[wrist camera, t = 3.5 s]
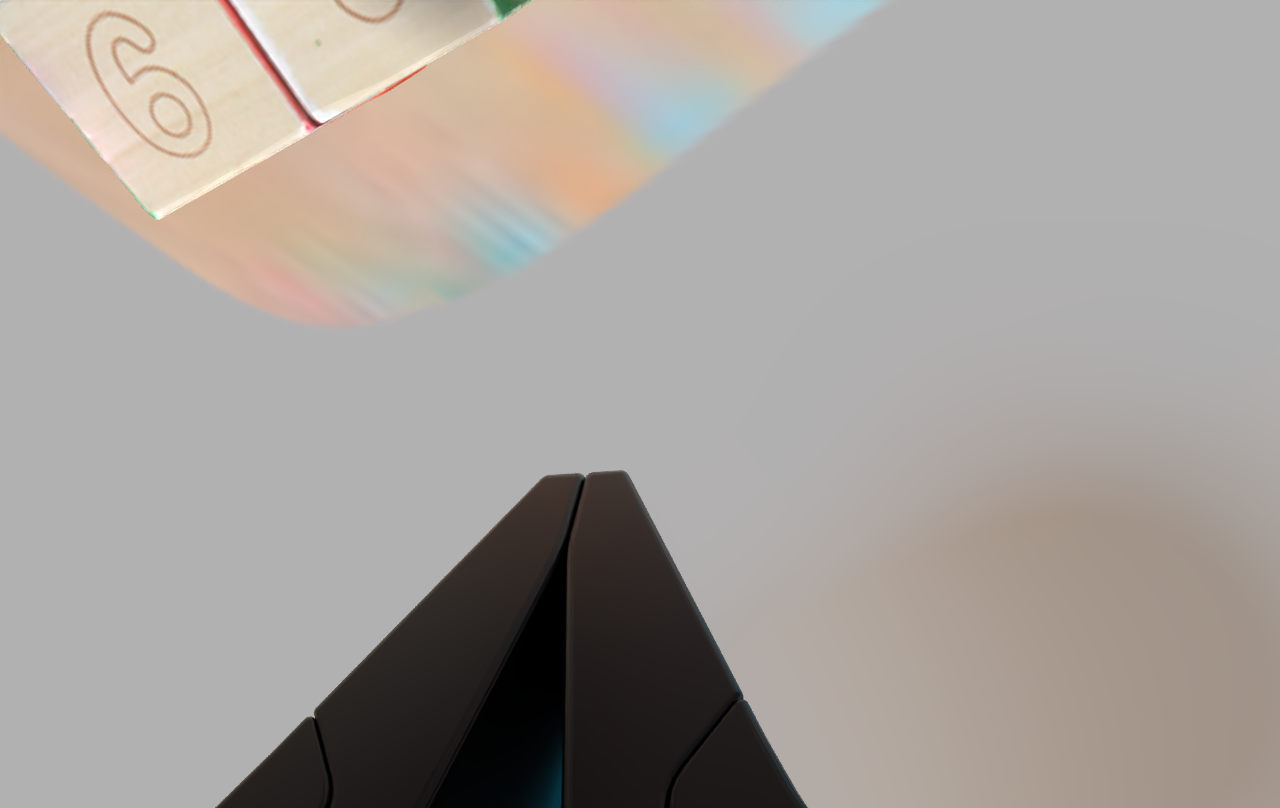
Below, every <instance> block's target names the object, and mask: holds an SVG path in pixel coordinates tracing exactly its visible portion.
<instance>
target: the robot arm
mask: <svg viewBox="0 0 1280 808" xmlns="http://www.w3.org/2000/svg"><path fill="white" fill-rule="evenodd" d="M314 716H315V718H313V717H307V718H305V720H303V721H302V722H301V723H300V725H299V726H298V727H297V728H296V729H295V730H294V731H293V732H292V733H291V734H290V735H289V736H288V737H287V738H286V739H285V740H284V741H283V742H282V743H281V744H280V745H279V746H278V747H277V748H276V749H275V750H274V751H273V752H272V753H271V754H270V755H269V756H268V757H267V758H266V759H265V760H264V761H263V762H262V763H261V764H260V765H259V766H258V767H257V768H256V769H255V770H253V772H251V773H250V774H249V775H248V776H247V777H246V778H245V779H244V780H243V781H242V782H241V783H240V784H239V785H238V786H237V787H236V788H235V789H234V790H233V791H232V792H231V793H230V794H229V795H228V796H227V797H226V798H225V799H224V800H223V801H222V802H221V803H220V804H219V805H218V806H217V807H215V808H808V807H807V806H806V804H805V803H804V801H803V800H802V799H801V797H800V795H799V794H798V792H797V791H796V789H795V787H794V785H793V784H792V782H791V780H790V778H789V777H788V775H787V773H786V771H785V770H784V768H783V767H782V764H781V763H780V761H779V759H778V757H777V756H776V754H775V752H774V750H773V749H772V747H771V745H770V743H769V742H768V740H767V738H766V736H765V734H764V732H763V731H762V729H761V727H760V725H759V723H758V721H757V719H756V717H755V715H754V713H753V712H752V710H751V708H750V706H749V704H748V702H747V701H745V700H744V699H743V694H742V691H741V689H740V688H739V686H738V684H737V682H736V680H735V678H734V676H733V674H732V672H731V670H730V669H729V666H728V665H727V663H726V661H725V659H724V657H723V655H722V653H721V651H720V649H719V647H718V645H717V644H716V642H715V640H714V638H713V636H712V634H711V632H710V630H709V628H708V626H707V624H706V622H705V620H704V618H703V617H702V615H701V613H700V611H699V609H698V607H697V605H696V603H695V602H694V599H693V597H692V596H691V594H690V592H689V590H688V588H687V586H686V584H685V582H684V580H683V578H682V576H681V574H680V572H679V571H678V569H677V567H676V565H675V563H674V561H673V559H672V557H671V555H670V553H669V551H668V549H667V548H666V546H665V544H664V542H663V540H662V538H661V536H660V534H659V532H658V530H657V528H656V526H655V525H654V523H653V521H652V519H651V517H650V515H649V513H648V511H647V509H646V507H645V505H644V503H643V501H642V500H641V498H640V496H639V494H638V492H637V490H636V488H635V486H634V484H633V482H632V480H631V479H630V477H629V475H628V474H627V473H626V472H625V471H622V470H621V471H620V470H619V471H605V472H593V473H589V474H588V475H587V476H586V478H585V477H584V476H583V475H582V474H580V473H575V474H558V475H547V476H545V477H543V478H542V479H541V480H540V481H539V482H538V483H537V484H536V485H535V486H534V487H533V488H532V489H531V490H530V491H529V492H528V493H527V494H526V495H525V496H524V497H523V498H522V499H521V500H520V501H519V502H518V503H517V504H516V505H515V506H514V507H513V508H512V509H511V510H510V511H509V512H508V513H507V514H506V515H505V516H504V517H503V518H502V519H501V520H500V521H499V522H498V523H497V524H496V526H494V527H493V528H492V529H491V530H490V531H489V533H488V534H487V535H486V536H485V537H484V538H483V539H482V540H481V541H480V542H479V543H478V544H477V545H476V546H475V547H474V548H473V549H472V550H471V551H470V552H469V553H468V554H467V555H466V556H465V557H464V558H463V559H462V560H461V561H460V562H459V563H458V564H457V565H456V566H455V567H454V568H453V569H452V570H451V571H450V572H449V573H448V574H447V575H446V576H445V577H444V578H443V579H442V580H441V581H440V582H439V583H438V584H437V586H435V587H434V589H433V590H432V591H431V592H430V593H429V594H428V595H427V596H426V597H425V598H424V599H423V600H422V601H421V602H420V603H419V604H418V605H417V606H416V607H415V608H414V609H413V610H412V611H411V612H410V613H409V614H408V615H407V616H406V617H405V618H404V619H403V620H402V621H401V622H400V623H399V624H398V625H397V626H396V627H395V628H394V629H393V630H392V631H391V632H390V633H389V634H388V635H387V636H386V637H385V638H384V639H383V640H382V641H381V642H380V643H379V645H378V646H377V647H376V648H375V649H374V650H373V651H372V652H371V653H370V654H369V655H368V656H367V657H366V658H365V659H364V660H363V661H362V662H361V663H360V664H359V665H358V666H357V667H356V668H355V669H354V670H353V671H352V672H351V673H350V674H349V675H348V676H347V677H346V678H345V679H344V680H343V681H342V682H341V683H340V684H339V685H338V686H337V687H336V688H335V689H334V690H333V691H332V692H331V694H329V695H328V697H326V698H325V700H324V701H323V702H322V703H321V704H320V705H319V706H318V707H317V708H316V709H315V711H314Z"/></svg>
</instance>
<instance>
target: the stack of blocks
mask: <svg viewBox="0 0 1280 808" xmlns="http://www.w3.org/2000/svg"><path fill="white" fill-rule="evenodd" d="M532 1H533V0H0V35H1V36H2V38H3V39H4V40H5V41H6V43H7V44H8V45H9V46H10V48H11V49H12V50H13V51H14V52H15V54H16V55H17V56H18V57H19V59H20V60H21V61H22V62H23V63H24V65H25V66H26V67H27V68H28V70H29V71H30V72H31V73H32V74H33V76H34V77H35V78H36V79H37V81H38V82H39V83H40V84H41V86H42V87H43V88H44V89H45V90H46V91H47V93H48V94H49V95H50V96H51V97H52V98H53V99H54V101H55V102H56V103H57V104H58V105H59V106H60V107H61V108H62V110H63V111H64V112H65V113H66V115H67V116H68V117H69V118H70V120H71V121H72V122H73V123H74V125H75V126H76V127H77V129H78V130H79V131H80V133H81V134H82V135H83V137H84V138H85V139H86V141H87V142H88V143H89V145H90V146H91V147H92V148H93V149H94V150H95V151H96V152H97V153H98V154H99V155H100V157H101V158H102V159H103V160H104V161H105V162H106V163H107V164H108V165H109V166H110V168H111V169H112V171H113V172H114V173H115V174H116V176H117V177H118V178H119V179H120V181H121V182H122V183H123V184H124V185H125V187H126V188H127V189H128V190H129V192H130V193H131V194H132V195H133V196H134V198H135V199H136V200H137V202H138V203H139V204H140V205H141V207H142V208H143V209H144V210H145V211H146V212H147V213H149V214H150V215H151V216H152V217H153V218H155V219H156V220H159V219H161V218H163V217H165V216H167V215H169V214H170V213H172V212H174V211H175V210H177V209H179V208H181V207H182V206H184V205H186V204H188V203H189V202H191V201H193V200H195V199H196V198H198V197H200V196H201V195H203V194H205V193H207V192H208V191H210V190H212V189H214V188H216V187H217V186H219V185H221V184H223V183H224V182H226V181H228V180H230V179H231V178H233V177H235V176H237V175H238V174H240V173H242V172H244V171H246V170H247V169H249V168H251V167H253V166H254V165H256V164H258V163H260V162H261V161H263V160H265V159H267V158H269V157H270V156H272V155H274V154H275V153H277V152H279V151H281V150H283V149H284V148H286V147H288V146H290V145H291V144H293V143H295V142H297V141H298V140H300V139H302V138H304V137H305V136H307V135H309V134H311V133H312V132H314V131H316V130H318V129H319V128H321V127H323V126H325V125H327V124H328V123H330V122H332V121H334V120H335V119H337V118H339V117H341V116H342V115H344V114H346V113H348V112H350V111H351V110H353V109H355V108H357V107H359V106H360V105H362V104H364V103H366V102H368V101H370V100H372V99H374V98H376V97H378V96H380V95H382V94H384V93H386V92H388V91H390V90H391V89H393V88H394V87H396V86H398V85H399V84H401V83H402V82H404V81H405V80H407V79H409V78H410V77H412V76H413V75H415V74H416V73H418V72H419V71H421V70H422V69H424V68H425V67H426V65H427V64H429V63H431V62H432V61H434V60H436V59H438V58H439V57H441V56H443V55H444V54H446V53H448V52H450V51H451V50H453V49H455V48H457V47H458V46H460V45H462V44H464V43H465V42H467V41H469V40H471V39H473V38H474V37H476V36H478V35H480V34H482V33H483V32H485V31H487V30H489V29H490V28H492V27H494V26H496V25H498V24H499V23H501V22H502V21H504V20H505V19H507V18H509V17H510V16H512V15H513V14H515V13H516V12H518V11H519V10H520V9H522V8H523V7H524V6H526V5H527V4H529V3H530V2H532Z"/></svg>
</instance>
